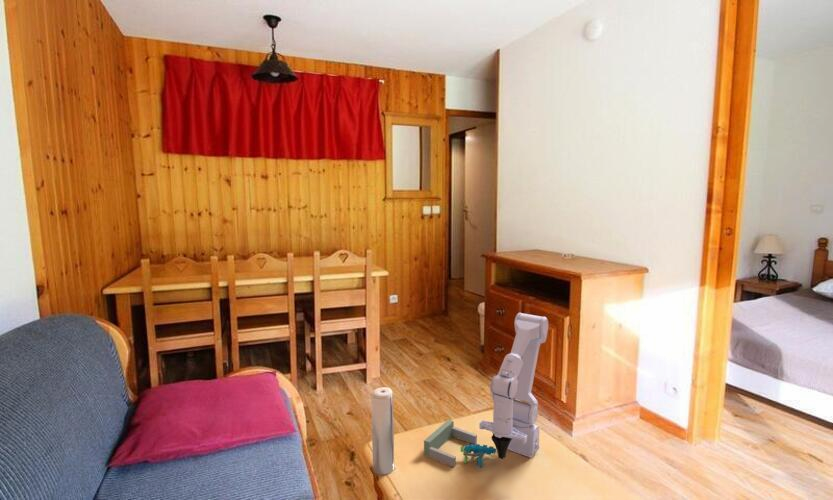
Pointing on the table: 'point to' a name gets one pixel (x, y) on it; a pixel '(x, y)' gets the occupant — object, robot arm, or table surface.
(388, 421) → the white cylindrical tube
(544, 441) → the table surface
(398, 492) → the table surface
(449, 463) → the green u-shaped bracket
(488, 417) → the table surface
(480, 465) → the blue toy cog wheel
